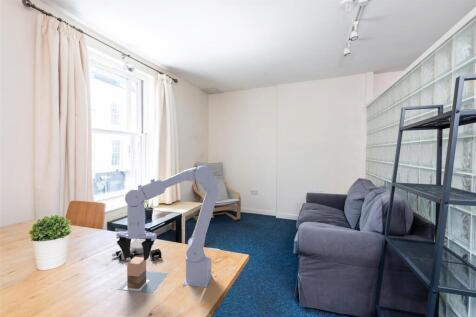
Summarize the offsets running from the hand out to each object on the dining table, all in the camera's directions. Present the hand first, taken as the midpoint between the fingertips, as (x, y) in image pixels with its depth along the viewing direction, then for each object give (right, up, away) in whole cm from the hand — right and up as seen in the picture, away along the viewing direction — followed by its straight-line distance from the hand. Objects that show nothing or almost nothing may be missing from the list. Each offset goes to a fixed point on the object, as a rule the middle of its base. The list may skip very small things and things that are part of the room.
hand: (136, 258), depth 77 cm
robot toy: (-13, -10, +24) cm, 29 cm away
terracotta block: (0, -5, 0) cm, 5 cm away
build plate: (-1, -11, +20) cm, 22 cm away
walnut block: (0, -10, 0) cm, 10 cm away
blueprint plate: (+2, -10, +3) cm, 11 cm away
